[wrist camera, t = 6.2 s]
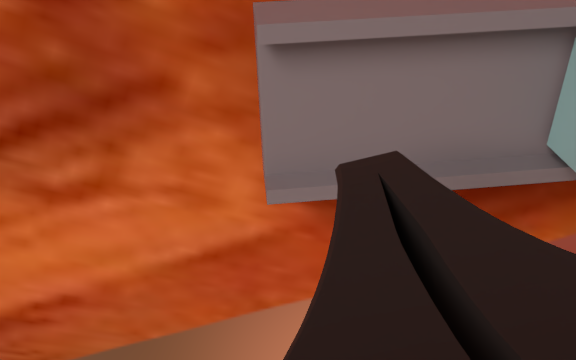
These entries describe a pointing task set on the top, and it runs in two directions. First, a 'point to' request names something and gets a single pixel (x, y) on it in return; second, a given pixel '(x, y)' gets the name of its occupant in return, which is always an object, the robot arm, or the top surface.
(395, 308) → the robot arm
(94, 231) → the top surface
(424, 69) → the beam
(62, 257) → the top surface
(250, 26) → the top surface
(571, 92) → the rider
